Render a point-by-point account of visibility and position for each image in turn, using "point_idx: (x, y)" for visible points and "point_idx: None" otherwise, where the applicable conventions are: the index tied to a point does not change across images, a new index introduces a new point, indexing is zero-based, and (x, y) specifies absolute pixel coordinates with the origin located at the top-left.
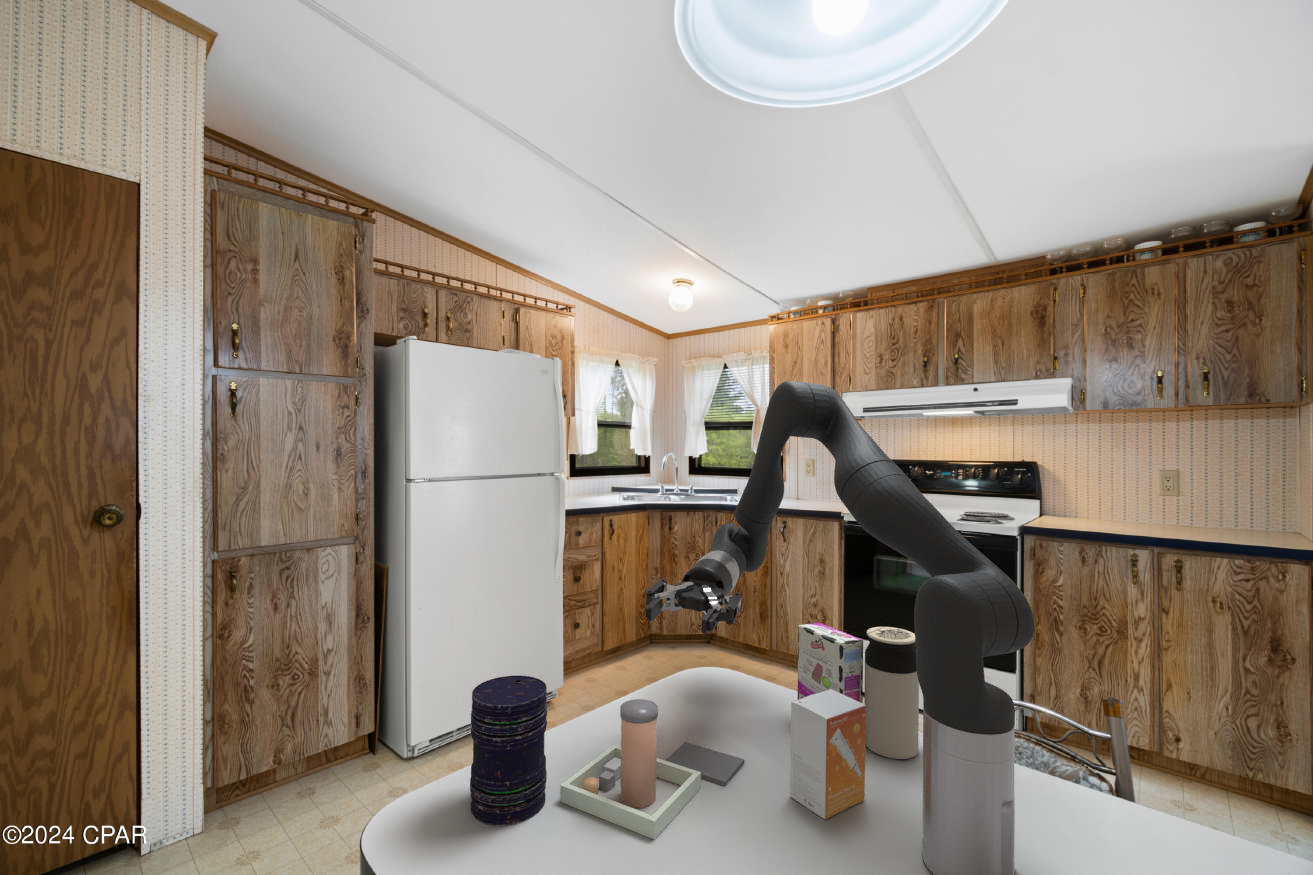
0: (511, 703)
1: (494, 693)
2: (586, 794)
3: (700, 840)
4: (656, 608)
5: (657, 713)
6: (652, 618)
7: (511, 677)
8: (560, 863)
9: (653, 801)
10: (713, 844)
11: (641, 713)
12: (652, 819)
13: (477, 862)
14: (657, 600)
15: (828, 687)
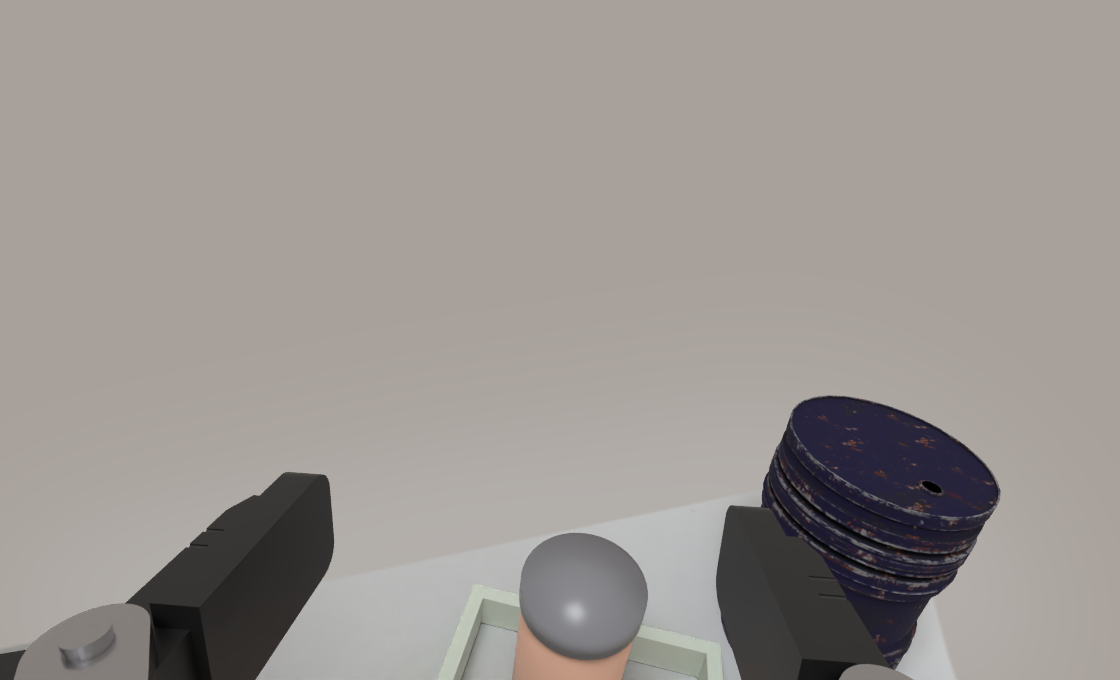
0: (815, 410)
1: (896, 434)
2: (645, 628)
3: (378, 630)
4: (749, 598)
5: (520, 595)
6: (721, 584)
7: (983, 510)
8: (601, 526)
9: None
10: (350, 625)
11: (560, 549)
12: (479, 588)
13: (707, 505)
14: (803, 616)
15: None
